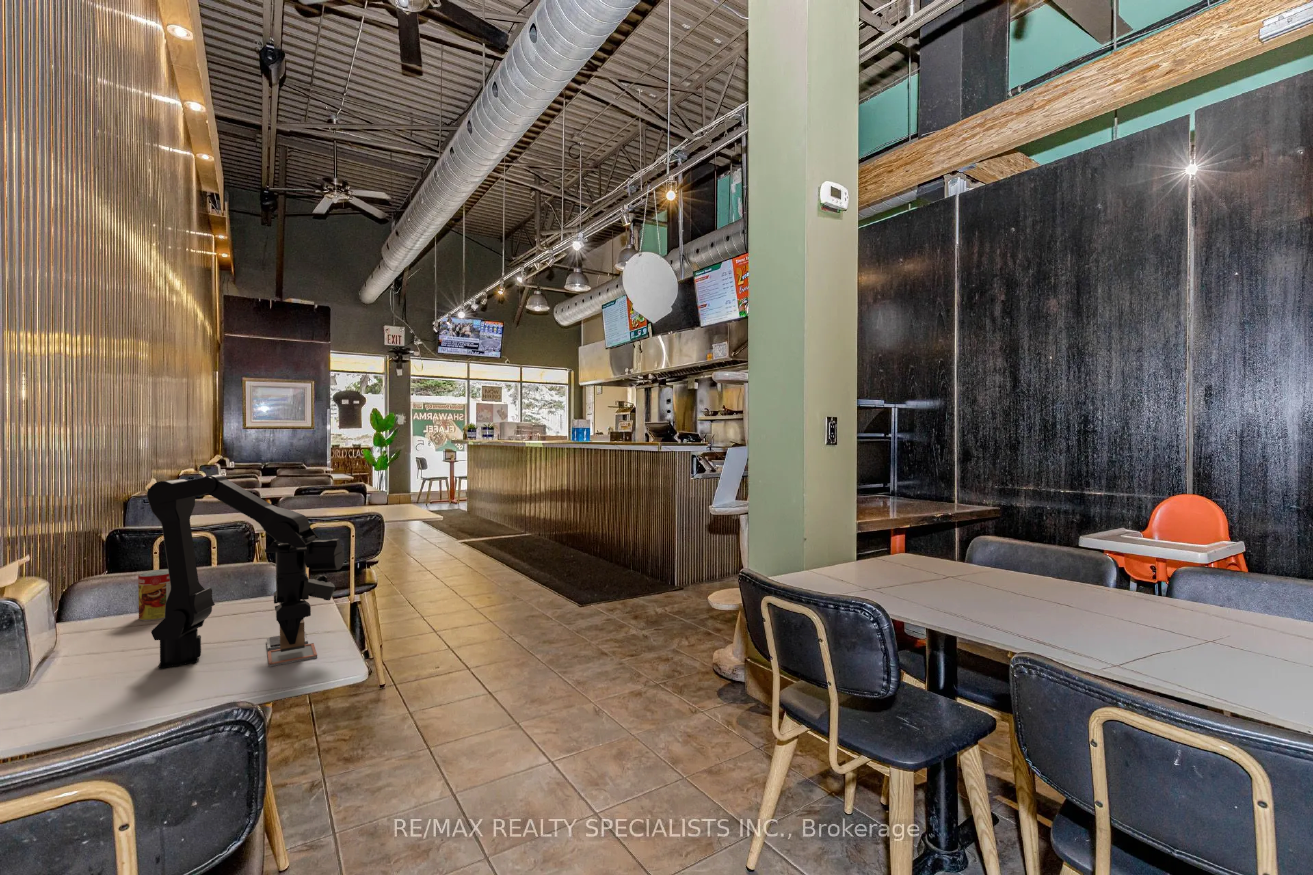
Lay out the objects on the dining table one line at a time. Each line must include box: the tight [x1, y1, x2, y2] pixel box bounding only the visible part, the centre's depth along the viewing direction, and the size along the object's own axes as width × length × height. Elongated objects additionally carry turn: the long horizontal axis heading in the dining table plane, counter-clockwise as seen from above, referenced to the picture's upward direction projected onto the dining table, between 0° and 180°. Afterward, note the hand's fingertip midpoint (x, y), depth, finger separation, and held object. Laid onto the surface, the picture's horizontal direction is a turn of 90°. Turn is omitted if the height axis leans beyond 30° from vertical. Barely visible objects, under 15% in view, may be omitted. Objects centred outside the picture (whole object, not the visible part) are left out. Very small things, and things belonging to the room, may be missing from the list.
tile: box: [267, 642, 318, 667], centre depth 134 cm, size 9×9×1 cm
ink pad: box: [266, 631, 309, 652], centre depth 142 cm, size 8×8×1 cm
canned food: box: [137, 568, 171, 622], centre depth 163 cm, size 8×8×12 cm
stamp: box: [279, 618, 305, 652], centre depth 134 cm, size 4×4×6 cm
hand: (291, 640), depth 134 cm, fingers closed on stamp, 4 cm apart
